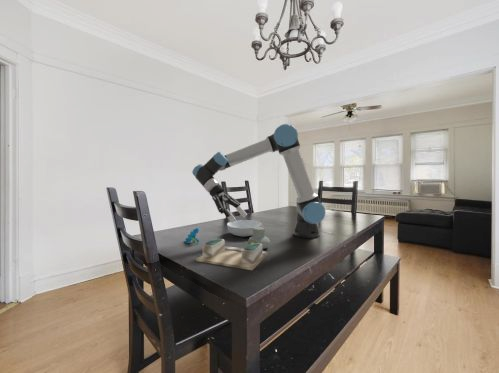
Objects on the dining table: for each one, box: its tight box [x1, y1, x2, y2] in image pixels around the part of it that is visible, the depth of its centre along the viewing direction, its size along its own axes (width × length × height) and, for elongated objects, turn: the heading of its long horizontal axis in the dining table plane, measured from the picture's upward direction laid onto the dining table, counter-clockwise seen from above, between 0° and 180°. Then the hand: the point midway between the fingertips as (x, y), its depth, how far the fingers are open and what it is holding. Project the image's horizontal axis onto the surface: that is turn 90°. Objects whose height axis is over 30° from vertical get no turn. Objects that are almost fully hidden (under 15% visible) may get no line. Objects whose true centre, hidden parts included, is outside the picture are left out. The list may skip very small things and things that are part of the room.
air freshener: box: [247, 226, 271, 250], centre depth 115 cm, size 11×8×10 cm
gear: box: [184, 227, 200, 245], centre depth 126 cm, size 11×6×10 cm
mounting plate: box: [195, 237, 268, 271], centre depth 102 cm, size 26×18×6 cm
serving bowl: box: [226, 219, 262, 238], centre depth 140 cm, size 21×21×7 cm
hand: (240, 218), depth 119 cm, fingers open, 13 cm apart
